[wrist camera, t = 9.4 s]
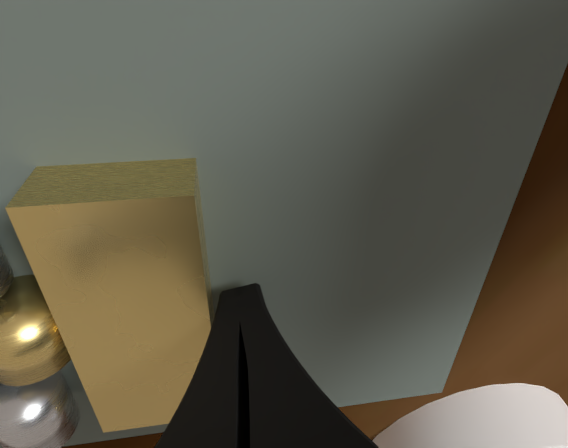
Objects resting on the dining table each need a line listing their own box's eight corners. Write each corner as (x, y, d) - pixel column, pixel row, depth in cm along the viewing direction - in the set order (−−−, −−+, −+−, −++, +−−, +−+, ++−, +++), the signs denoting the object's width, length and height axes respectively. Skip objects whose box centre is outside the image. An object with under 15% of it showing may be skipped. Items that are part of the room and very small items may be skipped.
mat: (708, -341, 7) (725, -350, 7) (438, 386, 20) (441, 392, 20) (-984, -542, 5) (-1053, -571, 4) (-60, 457, 17) (-64, 464, 17)
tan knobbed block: (220, 368, 16) (222, 427, 14) (44, 389, 15) (20, 455, 13) (196, 158, 11) (193, 204, 9) (-72, 172, 10) (-139, 227, 8)
